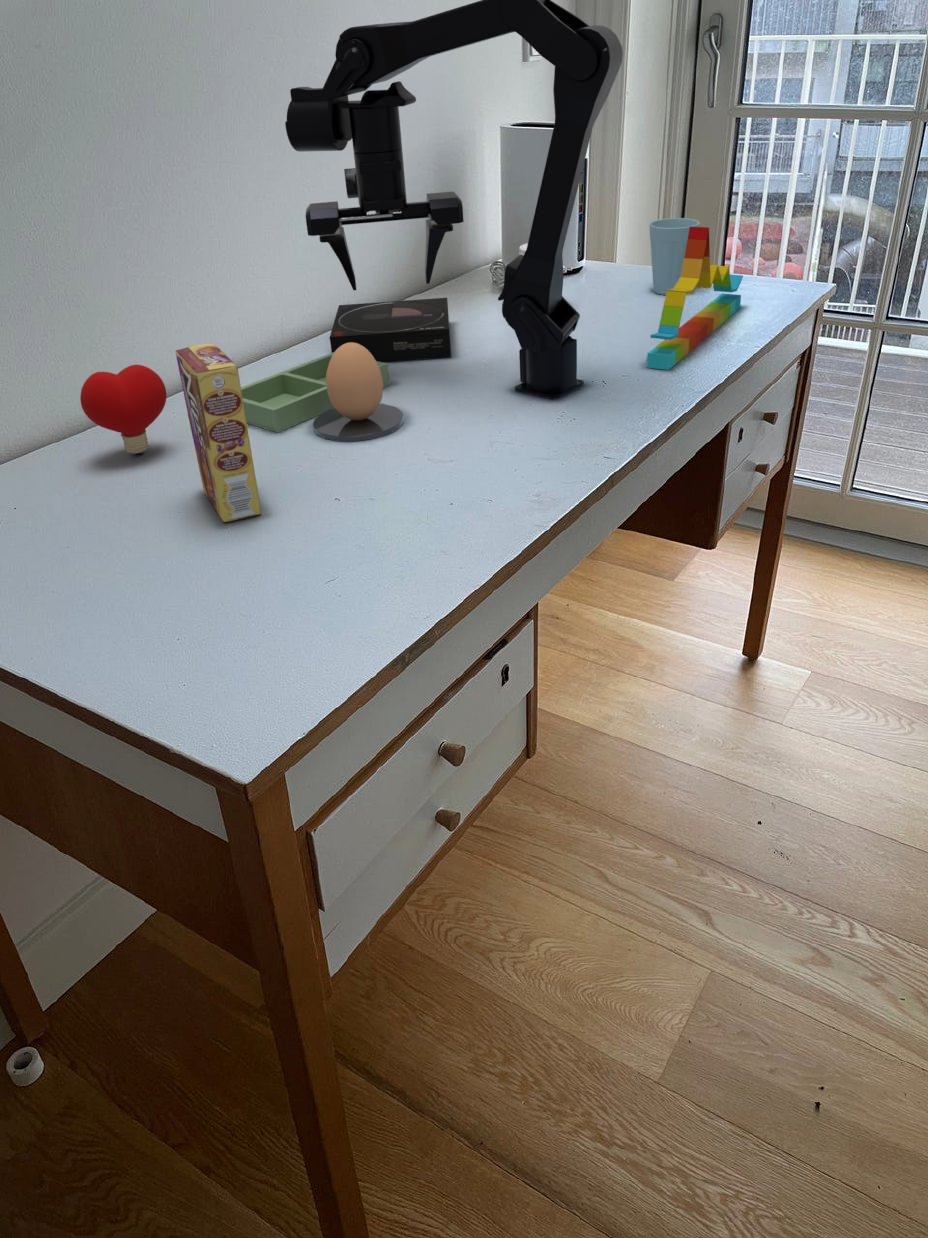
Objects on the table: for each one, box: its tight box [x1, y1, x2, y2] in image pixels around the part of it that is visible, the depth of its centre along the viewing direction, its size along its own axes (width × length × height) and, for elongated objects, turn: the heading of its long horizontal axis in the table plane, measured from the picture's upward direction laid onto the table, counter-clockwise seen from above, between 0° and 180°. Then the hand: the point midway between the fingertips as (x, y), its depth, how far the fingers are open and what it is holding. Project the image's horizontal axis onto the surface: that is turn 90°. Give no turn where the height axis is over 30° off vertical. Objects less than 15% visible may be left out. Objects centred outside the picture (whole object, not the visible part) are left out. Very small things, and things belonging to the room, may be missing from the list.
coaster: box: [312, 403, 405, 442], centre depth 117 cm, size 11×11×1 cm
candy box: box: [174, 343, 262, 523], centre depth 96 cm, size 9×4×15 cm, turn 26°
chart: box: [645, 226, 744, 371], centre depth 134 cm, size 30×3×15 cm, turn 150°
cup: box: [648, 217, 701, 296], centre depth 155 cm, size 8×8×10 cm
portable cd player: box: [329, 297, 452, 363], centre depth 142 cm, size 16×17×4 cm
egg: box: [326, 342, 384, 420], centre depth 114 cm, size 7×7×9 cm
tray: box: [241, 352, 391, 434], centre depth 124 cm, size 10×19×3 cm, turn 140°
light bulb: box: [79, 364, 168, 457], centre depth 110 cm, size 9×7×10 cm
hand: (391, 286), depth 123 cm, fingers open, 9 cm apart
